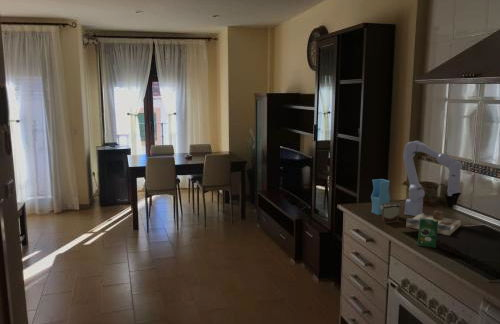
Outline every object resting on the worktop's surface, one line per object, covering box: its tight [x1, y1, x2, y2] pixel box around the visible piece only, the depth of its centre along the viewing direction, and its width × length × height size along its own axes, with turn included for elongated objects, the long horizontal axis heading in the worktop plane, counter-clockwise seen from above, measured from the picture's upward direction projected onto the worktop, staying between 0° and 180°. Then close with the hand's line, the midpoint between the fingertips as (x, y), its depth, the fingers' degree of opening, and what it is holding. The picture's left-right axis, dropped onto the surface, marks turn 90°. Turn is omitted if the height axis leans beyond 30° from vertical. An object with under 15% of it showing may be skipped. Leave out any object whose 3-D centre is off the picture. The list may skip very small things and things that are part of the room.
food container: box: [380, 202, 401, 224], centre depth 237 cm, size 12×6×10 cm, turn 110°
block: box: [432, 209, 444, 220], centre depth 233 cm, size 4×4×4 cm
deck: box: [405, 213, 462, 236], centre depth 228 cm, size 22×22×4 cm
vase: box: [370, 178, 391, 216], centre depth 252 cm, size 8×8×20 cm
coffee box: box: [417, 218, 438, 249], centre depth 197 cm, size 8×3×13 cm, turn 68°
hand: (451, 206), depth 236 cm, fingers open, 7 cm apart
